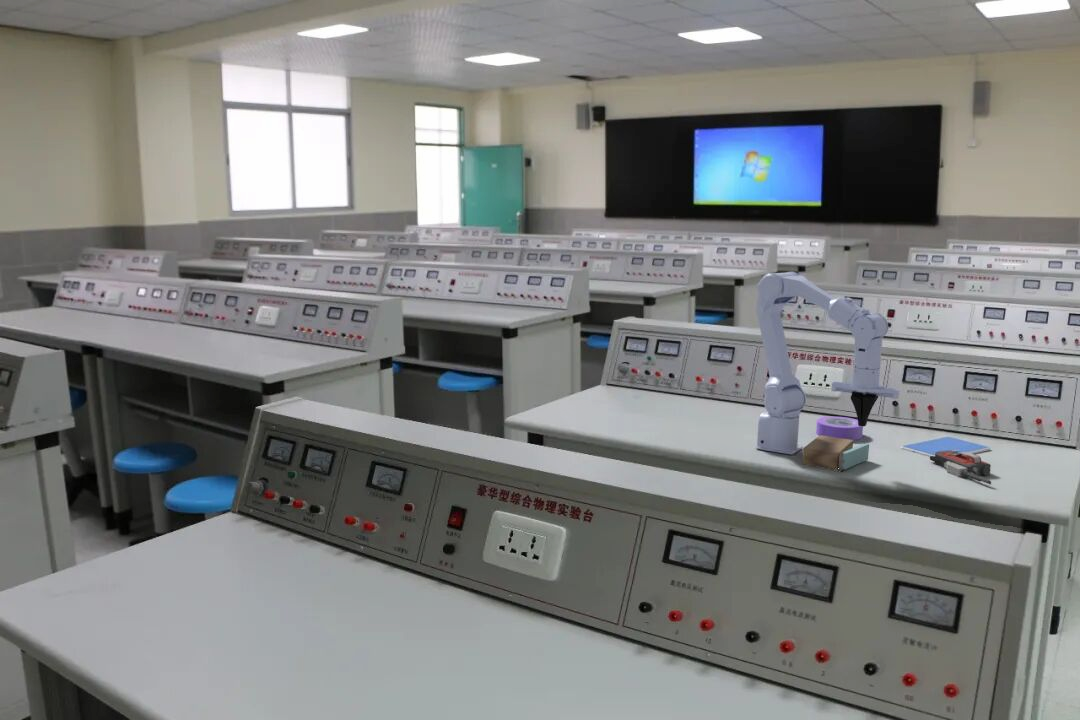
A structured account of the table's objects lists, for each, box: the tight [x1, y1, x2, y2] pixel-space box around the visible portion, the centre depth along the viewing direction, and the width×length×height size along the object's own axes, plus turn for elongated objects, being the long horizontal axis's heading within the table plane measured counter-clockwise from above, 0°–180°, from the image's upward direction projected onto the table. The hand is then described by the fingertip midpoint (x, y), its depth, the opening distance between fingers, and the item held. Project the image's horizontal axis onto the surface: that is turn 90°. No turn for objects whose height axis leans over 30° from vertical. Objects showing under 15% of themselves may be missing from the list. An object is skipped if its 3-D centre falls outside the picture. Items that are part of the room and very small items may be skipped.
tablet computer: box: [900, 436, 991, 458], centre depth 221 cm, size 19×13×1 cm, turn 120°
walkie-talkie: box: [929, 450, 992, 485], centre depth 201 cm, size 9×4×20 cm
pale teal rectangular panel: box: [842, 443, 870, 470], centre depth 206 cm, size 13×1×4 cm, turn 135°
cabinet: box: [801, 435, 854, 472], centre depth 209 cm, size 9×15×4 cm, turn 147°
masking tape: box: [815, 416, 864, 441], centre depth 234 cm, size 12×12×4 cm
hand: (862, 425), depth 202 cm, fingers closed
